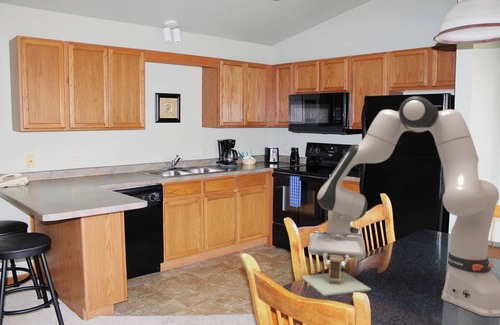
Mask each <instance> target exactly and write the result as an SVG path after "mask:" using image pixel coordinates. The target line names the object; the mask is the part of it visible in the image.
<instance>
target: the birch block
mask: <svg viewBox="0 0 500 325" xmlns="http://www.w3.org/2000/svg"><path fill="white" fill-rule="evenodd" d="M328 260H329V267H328V268H329V269H328V273H329V280H330V281H341V272H342V268H341V261H342V260H343V257H342V256H337V255H330V256H329V258H328Z"/></svg>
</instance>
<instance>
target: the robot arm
mask: <svg viewBox="0 0 500 325" xmlns="http://www.w3.org/2000/svg"><path fill="white" fill-rule="evenodd" d="M428 131H429V132H430V133H431V135H432V136H433V139H434V143H435V146H436V149H437V153H438V155H439V156H438V157H439V160H440V162H441V165H442V170H443V179H444V193H443V196H442V204H443V207H444V208H445V210H446V211H447V212H448V213H449V214H451V215H452V216H456V219H455V221H454V224H453V226H452V228H451V231H450V244H449V247H450V248H449V252H448V256H447V264H448V268H447V271H446V276H445V281H444V282H445V283H444V285H443V289H442V290H441V297H440V298H441V300H442V301H445V302H447V303H450V304H453V305H455V306H458V307H460V308H462V309H464V310H467V311H469V312H472V313H475V314H477V315H480V316H482V317H492V318H493V317H500V280H499V279H498V278H497V277H496V276H495V274H493V272H492V268H494V265H495V263H492V262H491V263H490V261H489V258H488V250H489V248H488V246H489V236H490V235H489V234H490V230H491V228H492V227H491V226H492V223H493V219H494V216H495V210H496V206H497V204H498V202H499V200H500V192H499V190H498V188H497V186H495V185H494V183H491V182H490V181H487V180H484V179H480V177H479V169H478V167H479V166H478V164H479V155H478V154H477V149H476V147H475V143H474V140H473V138H472V134H471V132H470V128H469V127H468V124H467V123H466V121H465V119H464V116H463V115H462V114H461V112H460V111H458V110H456V109H452V108H451V109H444V110H443V109H442V110H439V108H438V107H436V105H434V104H433V103H432V102H430V101H429V100H428V99H427V98H425V97H423V96H417V95H415V96H410V97H408V98H406V99H404V101H402V103H401V104H400V106H399V109H398V110H397V111H396V110H393V109H389V108H388V109H382V110H380V111H379V112H378V114H377V115H376V116H375V117H374V119H373V120H372V122H371V124H370V125H369V128H368V130H367V131H366V134H365V135H364V138H362V140H361V141H360V142H358V143H357V144H352V145H351V146H350V147H349V148H348V149H347V150H346V151H345V153H344V154H343V156H342V157H341V159H340V160H339V162H338V164H337V165H336V167H335V168H334V169H333V171H332V172H331V174H330V175H329V177H327V178H328V179H327V180H326V181H325V182H324V183H323V184H322V186H321V187H320V189H319V191H318V193H317V196H316V201H317V202H318V205H319V206H320V208H321V209H323V210H326V211H327V219H328V220H327V223H326V229H325V231H318V230H314V231H312V232H310V234H309V239H308V240H309V243H308V253H309V254H310V255H314V256H322V257H323V260H324V262H325V267H328V268H329V258H328V257H330V255H337V256H342V258H344V260H343V261H341V269H346V265H347V263H348V262H349V260H350V259H357V260H363V259H364V258H366V244H365V239H364V238H363V231H362V229H359V228H357V227H354V226H352V225H351V223H352V222H355V221H357V220H359V219H361V218H363V217H364V216H365V215H366V213H367V210H368V201H367V198H366V196H365V195H363V194H361V193H359V192H357V191H354V190H351V189H348V188H346V187H343V186H341V184H342V183H343V181H344V180H345V178H346V177H347V175H348V174H349V173H350V170H351V169H352V168H353V167H355V166H357V165H359V164H378V163H382V162H384V161H386V160H388V159H389V158H390V157H391V155H392V154H393V152H394V150H395V147H396V146H397V143H398V141H399V139H400V137H401V135H403V133H404V132H405V133H415V134H422V133H426V132H428Z"/></svg>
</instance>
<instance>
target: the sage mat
mask: <svg viewBox="0 0 500 325" xmlns="http://www.w3.org/2000/svg"><path fill="white" fill-rule="evenodd" d="M300 278H301V279H302V280H303V281H304V282H306V284H308V285H309V286H310V287H311V288H313V289H315V290H316V291H317V293H319V294H320V295H322V296H323V297H328V296H334V295H335V296H336V295H343V294H352V293H353V292H354V293H356V292H355V291H358V292H357V293H361V292H362V293H363V292H368V291H372V288H371V287H369V286H368V285H365V284H364V283H363V282H361V281H360V280H358V279H356V278H355V277H353V276H351V275H350V274H348V273H347V272H345V271H341V281H330V280H329V272H328V273H318V274H311V275H310V274H308V275H300Z"/></svg>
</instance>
